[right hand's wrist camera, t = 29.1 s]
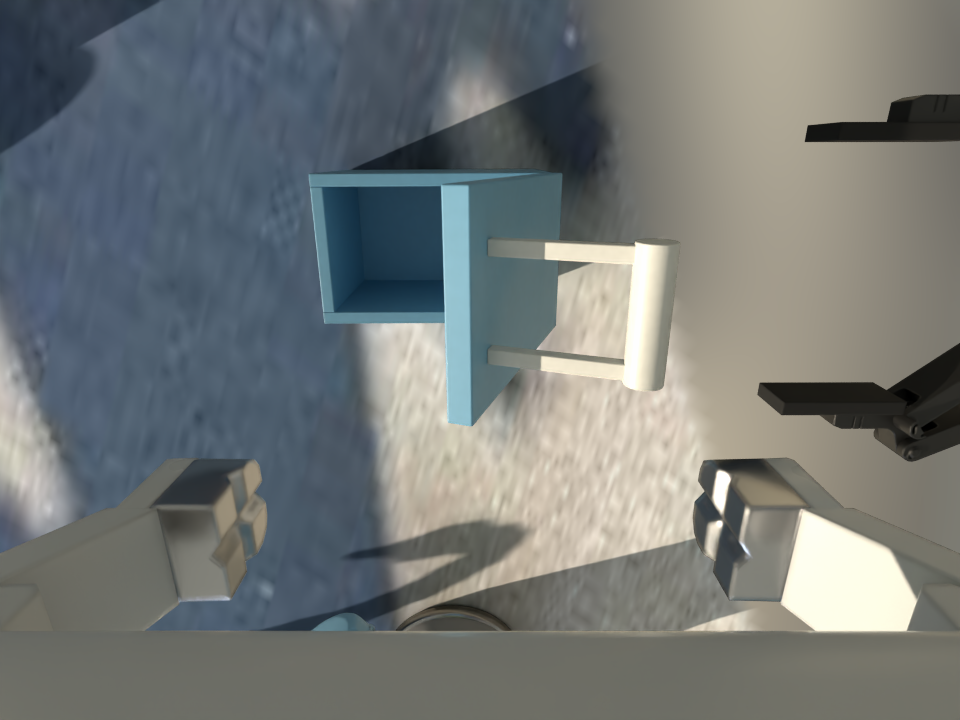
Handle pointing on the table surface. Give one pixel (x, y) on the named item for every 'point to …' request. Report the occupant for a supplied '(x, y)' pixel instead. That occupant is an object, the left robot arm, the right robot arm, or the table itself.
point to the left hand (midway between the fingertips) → (793, 276)
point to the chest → (384, 242)
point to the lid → (535, 292)
